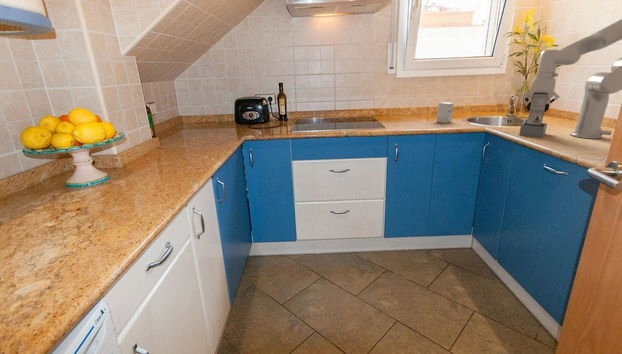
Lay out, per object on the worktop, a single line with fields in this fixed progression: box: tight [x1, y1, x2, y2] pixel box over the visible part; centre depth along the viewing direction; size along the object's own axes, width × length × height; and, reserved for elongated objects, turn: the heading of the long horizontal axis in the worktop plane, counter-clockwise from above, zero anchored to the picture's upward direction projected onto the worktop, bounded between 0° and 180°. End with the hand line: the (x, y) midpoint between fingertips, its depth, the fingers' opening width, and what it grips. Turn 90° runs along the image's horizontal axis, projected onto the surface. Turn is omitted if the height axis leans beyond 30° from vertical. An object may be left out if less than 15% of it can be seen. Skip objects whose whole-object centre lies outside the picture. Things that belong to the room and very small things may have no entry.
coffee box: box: [526, 93, 548, 125], centre depth 164 cm, size 9×6×16 cm
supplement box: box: [435, 101, 455, 124], centre depth 209 cm, size 7×7×13 cm
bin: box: [518, 121, 548, 138], centre depth 168 cm, size 10×13×6 cm
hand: (537, 110), depth 164 cm, fingers closed on coffee box, 6 cm apart
